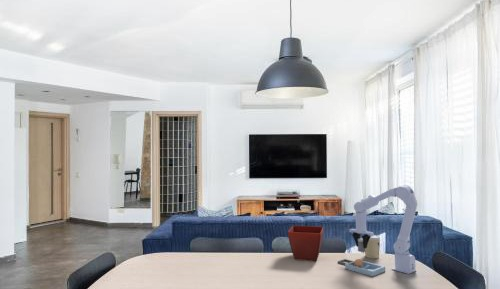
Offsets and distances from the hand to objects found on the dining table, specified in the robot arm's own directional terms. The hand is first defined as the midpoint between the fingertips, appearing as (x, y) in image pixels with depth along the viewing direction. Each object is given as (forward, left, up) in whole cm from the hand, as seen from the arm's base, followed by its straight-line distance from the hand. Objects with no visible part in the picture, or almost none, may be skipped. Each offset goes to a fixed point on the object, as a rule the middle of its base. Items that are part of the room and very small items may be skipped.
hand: (361, 247), depth 196 cm
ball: (-4, +10, -6) cm, 13 cm away
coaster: (+5, +8, -9) cm, 12 cm away
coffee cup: (+3, -15, -9) cm, 18 cm away
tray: (-8, +10, -9) cm, 16 cm away
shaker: (0, 0, -2) cm, 2 cm away
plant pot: (+27, +16, -9) cm, 33 cm away
